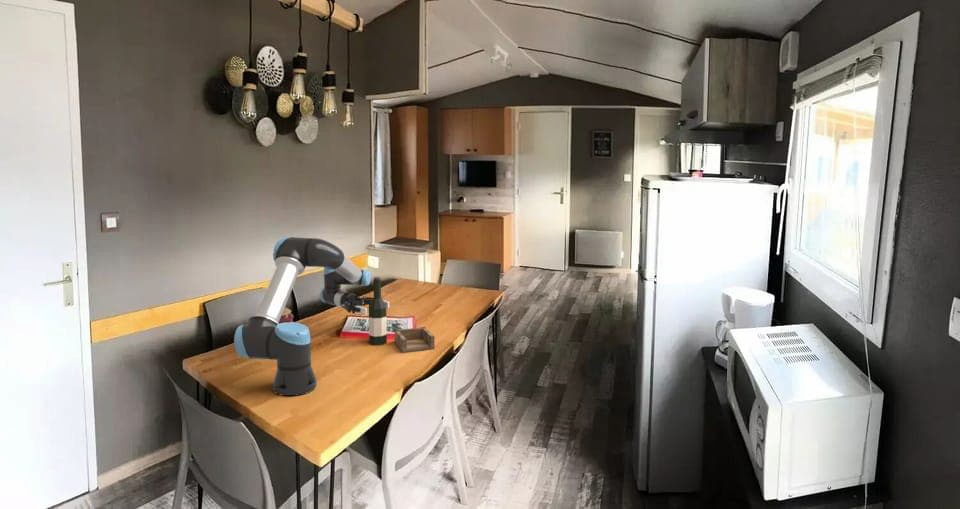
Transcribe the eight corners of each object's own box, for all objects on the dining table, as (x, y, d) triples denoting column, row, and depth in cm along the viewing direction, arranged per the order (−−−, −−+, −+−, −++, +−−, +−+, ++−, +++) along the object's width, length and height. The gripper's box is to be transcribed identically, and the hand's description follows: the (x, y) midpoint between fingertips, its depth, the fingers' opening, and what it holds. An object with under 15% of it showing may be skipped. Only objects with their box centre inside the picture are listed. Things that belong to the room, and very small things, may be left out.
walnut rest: (434, 349, 244) (434, 336, 243) (403, 353, 238) (403, 340, 237) (424, 339, 257) (424, 326, 255) (394, 342, 251) (394, 330, 250)
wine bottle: (383, 346, 246) (382, 280, 241) (365, 344, 248) (364, 278, 242) (390, 340, 254) (389, 276, 249) (372, 338, 256) (371, 274, 250)
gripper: (366, 302, 272) (397, 310, 259) (324, 313, 252) (356, 322, 240) (366, 287, 270) (397, 294, 258) (324, 297, 251) (356, 305, 238)
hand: (377, 308), depth 249 cm, fingers open, 13 cm apart
